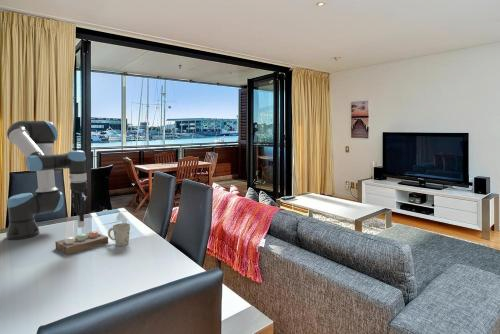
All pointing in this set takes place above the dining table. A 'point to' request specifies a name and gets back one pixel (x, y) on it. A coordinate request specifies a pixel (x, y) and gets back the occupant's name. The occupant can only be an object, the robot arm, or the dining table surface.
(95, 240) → the button panel
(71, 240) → the button cream
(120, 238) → the mug
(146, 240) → the dining table surface
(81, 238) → the button sage
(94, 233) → the button terracotta
